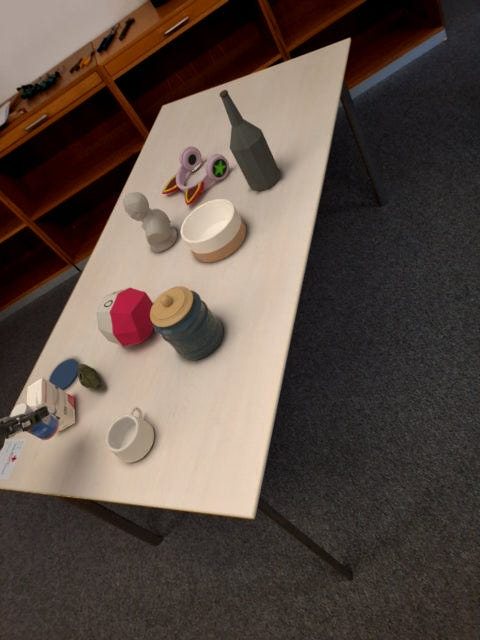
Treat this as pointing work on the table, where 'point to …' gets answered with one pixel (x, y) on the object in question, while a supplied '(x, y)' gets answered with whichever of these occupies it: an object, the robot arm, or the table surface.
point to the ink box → (52, 401)
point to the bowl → (213, 230)
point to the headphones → (189, 160)
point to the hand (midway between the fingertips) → (36, 412)
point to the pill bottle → (44, 428)
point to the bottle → (250, 149)
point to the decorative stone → (89, 377)
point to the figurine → (150, 221)
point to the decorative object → (125, 317)
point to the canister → (186, 323)
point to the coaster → (64, 374)
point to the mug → (130, 437)
